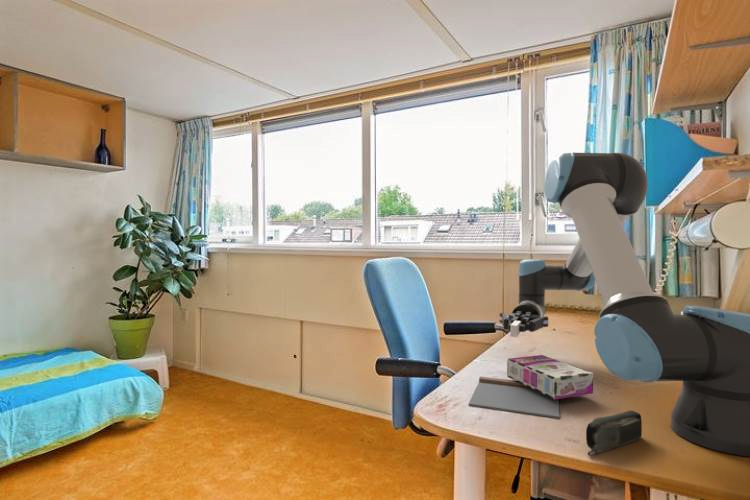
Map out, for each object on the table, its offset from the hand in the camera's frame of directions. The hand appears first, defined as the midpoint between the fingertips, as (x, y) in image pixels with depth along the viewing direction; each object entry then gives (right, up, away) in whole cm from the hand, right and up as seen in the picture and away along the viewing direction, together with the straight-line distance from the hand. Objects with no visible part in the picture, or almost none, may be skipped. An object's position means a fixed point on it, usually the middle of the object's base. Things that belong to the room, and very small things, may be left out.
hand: (513, 331), depth 101 cm
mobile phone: (+8, -15, -27) cm, 32 cm away
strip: (+2, -14, +2) cm, 14 cm away
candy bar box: (+5, -10, +7) cm, 14 cm away
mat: (-2, -14, -6) cm, 15 cm away
